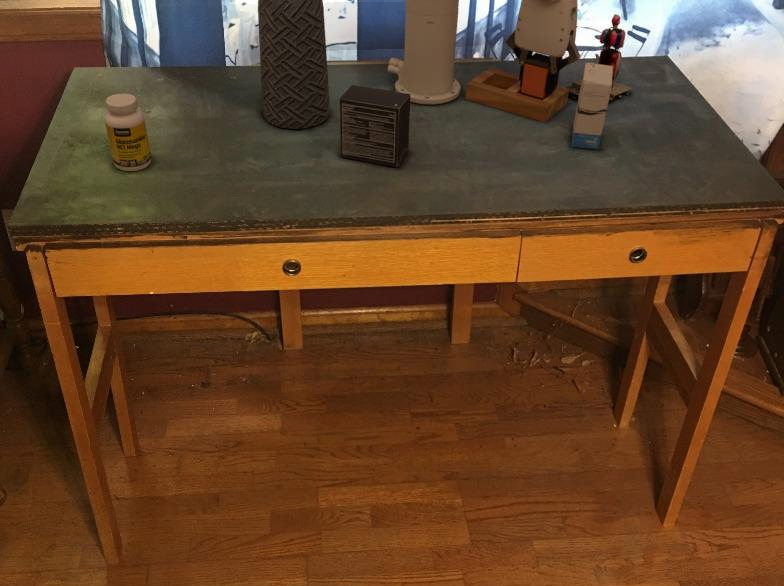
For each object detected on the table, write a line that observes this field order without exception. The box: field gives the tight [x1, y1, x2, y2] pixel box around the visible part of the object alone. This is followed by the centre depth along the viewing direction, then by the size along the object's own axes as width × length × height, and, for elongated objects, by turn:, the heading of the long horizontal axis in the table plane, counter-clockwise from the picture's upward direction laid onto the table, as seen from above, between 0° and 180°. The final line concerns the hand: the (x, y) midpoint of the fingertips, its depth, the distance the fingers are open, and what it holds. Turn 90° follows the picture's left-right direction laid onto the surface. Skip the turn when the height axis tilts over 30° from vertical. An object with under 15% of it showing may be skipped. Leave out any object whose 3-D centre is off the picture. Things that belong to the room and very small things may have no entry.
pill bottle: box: [104, 93, 152, 172], centre depth 139 cm, size 6×6×11 cm
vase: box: [257, 0, 331, 130], centre depth 147 cm, size 12×12×28 cm
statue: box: [566, 13, 633, 102], centre depth 162 cm, size 11×9×15 cm
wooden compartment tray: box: [465, 67, 569, 123], centre depth 162 cm, size 9×17×3 cm, turn 56°
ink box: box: [571, 62, 613, 150], centre depth 148 cm, size 8×5×12 cm, turn 168°
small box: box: [339, 84, 411, 168], centre depth 143 cm, size 11×6×10 cm, turn 71°
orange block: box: [521, 52, 550, 98], centre depth 157 cm, size 4×4×6 cm
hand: (537, 87), depth 159 cm, fingers closed on orange block, 4 cm apart
